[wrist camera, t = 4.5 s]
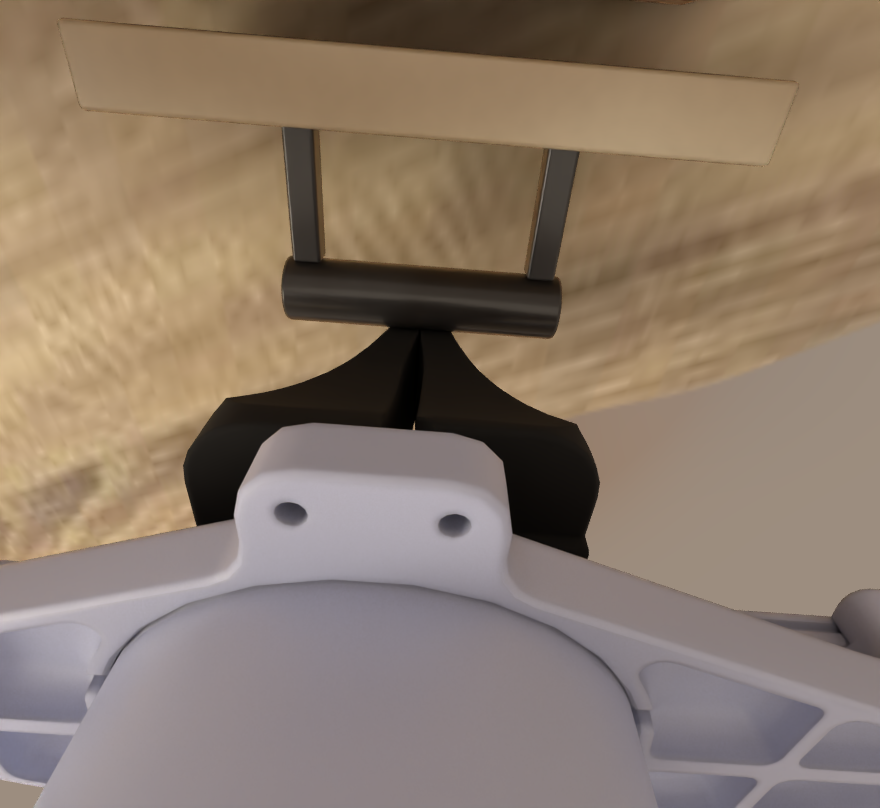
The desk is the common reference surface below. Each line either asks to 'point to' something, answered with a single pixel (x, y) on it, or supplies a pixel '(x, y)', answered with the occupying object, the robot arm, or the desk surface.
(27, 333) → the desk surface
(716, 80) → the drawer
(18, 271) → the desk surface
